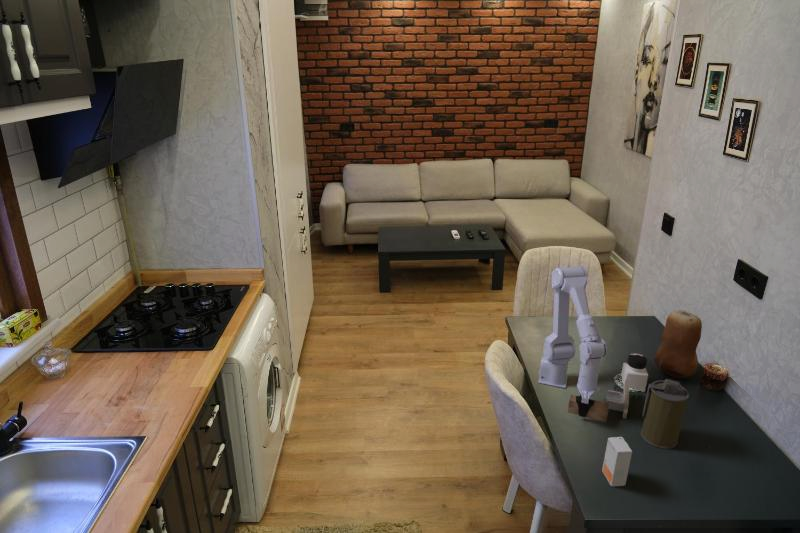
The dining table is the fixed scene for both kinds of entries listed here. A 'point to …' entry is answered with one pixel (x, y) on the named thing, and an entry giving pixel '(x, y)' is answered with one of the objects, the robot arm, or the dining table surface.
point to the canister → (664, 413)
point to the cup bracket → (615, 396)
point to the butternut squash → (679, 345)
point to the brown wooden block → (595, 412)
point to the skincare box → (617, 461)
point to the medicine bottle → (635, 372)
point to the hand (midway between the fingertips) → (583, 409)
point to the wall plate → (626, 398)
